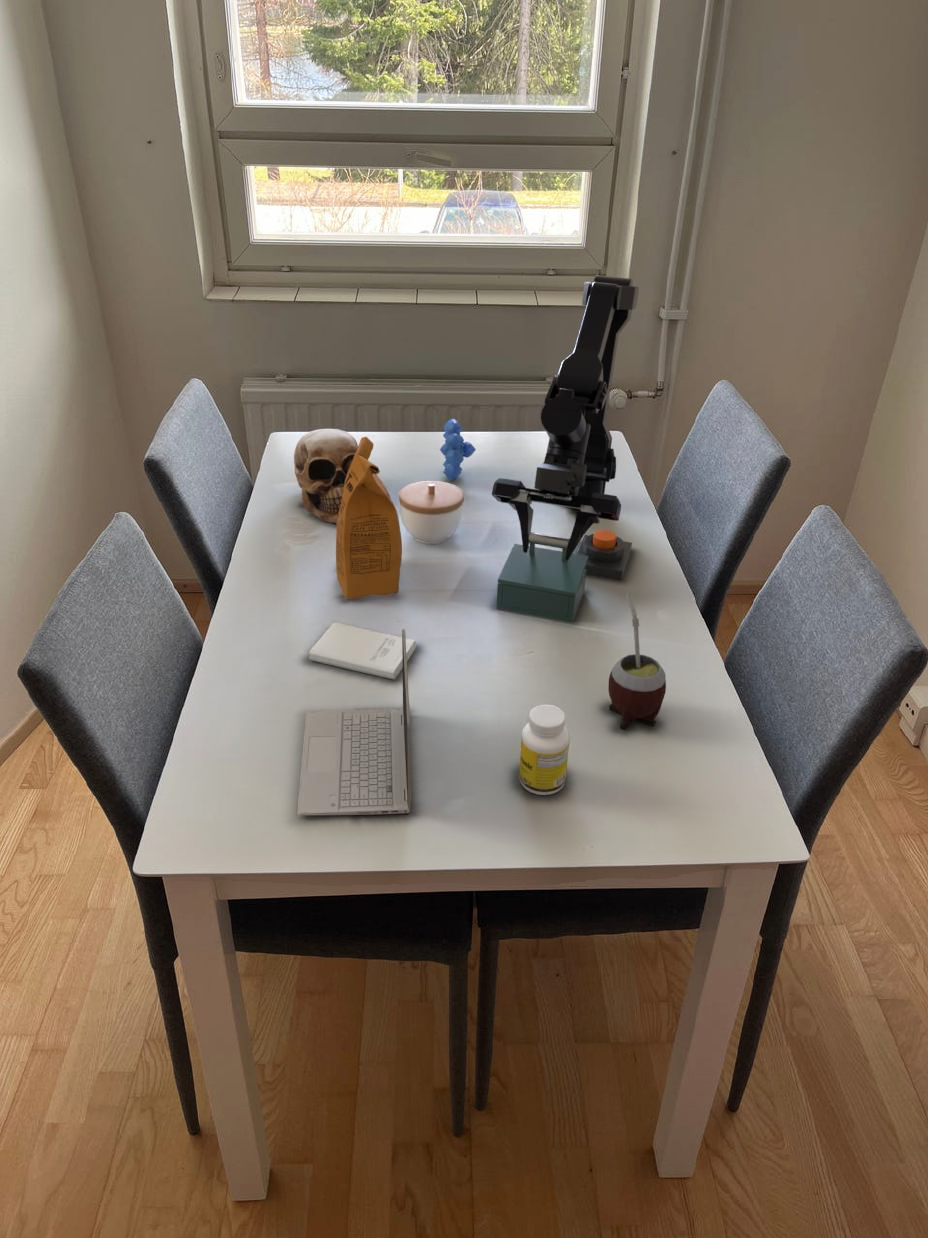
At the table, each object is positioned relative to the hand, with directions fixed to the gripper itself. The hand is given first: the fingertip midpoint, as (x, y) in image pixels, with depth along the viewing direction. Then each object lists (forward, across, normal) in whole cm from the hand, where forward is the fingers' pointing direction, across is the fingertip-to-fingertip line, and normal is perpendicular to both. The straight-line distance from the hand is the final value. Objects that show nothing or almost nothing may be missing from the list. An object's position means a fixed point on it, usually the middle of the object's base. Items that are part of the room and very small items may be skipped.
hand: (545, 555), depth 140 cm
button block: (-2, +7, +16) cm, 17 cm away
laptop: (+32, -12, -31) cm, 46 cm away
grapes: (-15, -25, +34) cm, 45 cm away
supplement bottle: (+29, +9, -28) cm, 42 cm away
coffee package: (+9, -26, +1) cm, 28 cm away
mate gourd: (+20, +17, -15) cm, 31 cm away
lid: (+2, 0, +1) cm, 2 cm away
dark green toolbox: (+6, 0, +3) cm, 7 cm away
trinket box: (-2, -22, +15) cm, 27 cm away
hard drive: (+20, -20, -14) cm, 31 cm away
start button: (-5, +7, +14) cm, 16 cm away
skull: (-5, -43, +20) cm, 48 cm away
